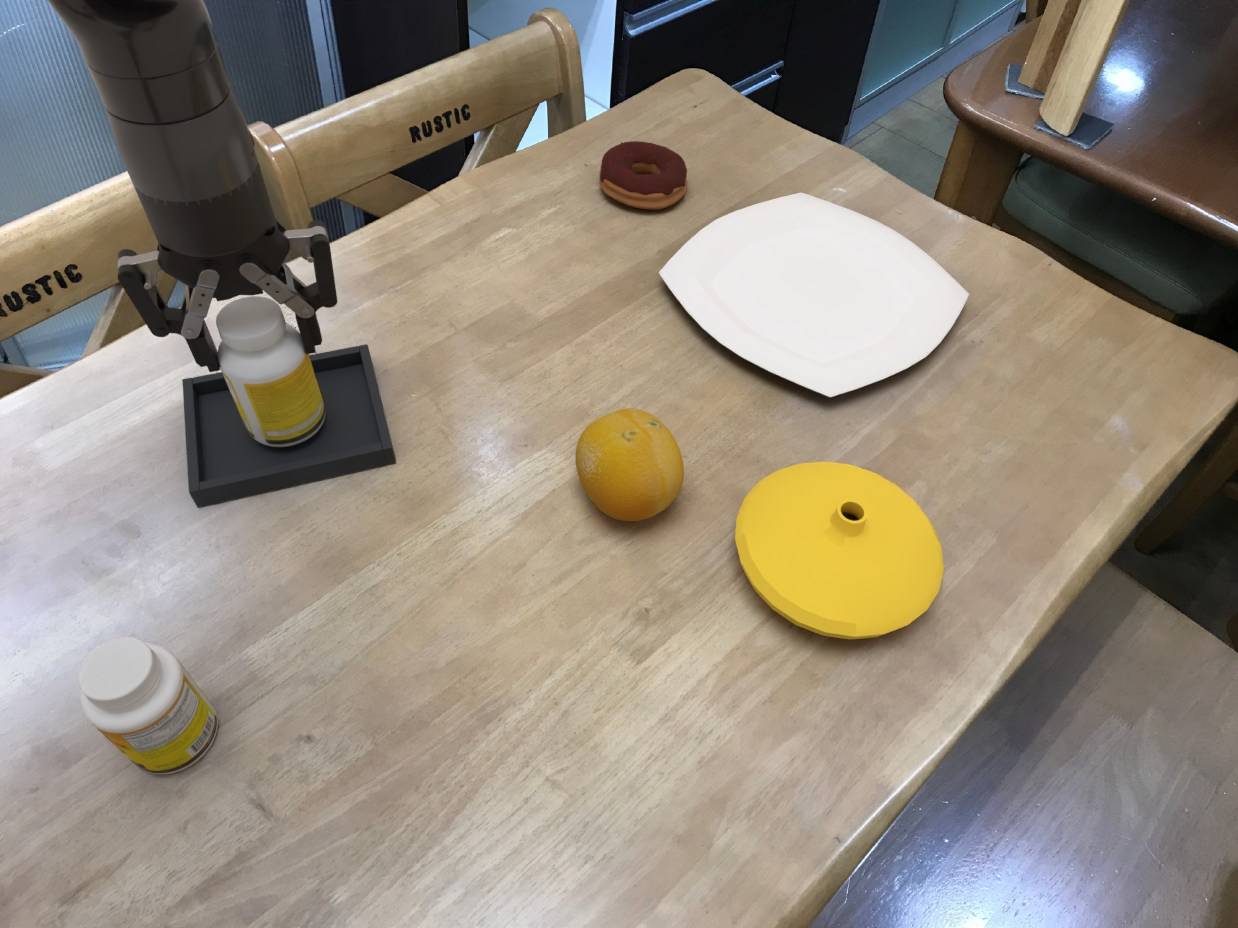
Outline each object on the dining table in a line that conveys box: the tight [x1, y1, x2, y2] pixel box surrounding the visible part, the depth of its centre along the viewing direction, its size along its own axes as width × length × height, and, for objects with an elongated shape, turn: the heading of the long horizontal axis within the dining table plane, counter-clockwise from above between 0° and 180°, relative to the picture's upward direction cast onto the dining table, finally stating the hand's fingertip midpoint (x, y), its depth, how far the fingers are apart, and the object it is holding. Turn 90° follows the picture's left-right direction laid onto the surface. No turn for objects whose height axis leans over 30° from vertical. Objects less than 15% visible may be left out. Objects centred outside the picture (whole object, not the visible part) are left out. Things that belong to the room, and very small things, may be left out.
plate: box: [658, 192, 970, 399], centre depth 88 cm, size 27×27×2 cm
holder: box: [181, 343, 397, 508], centre depth 74 cm, size 16×13×2 cm
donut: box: [598, 140, 688, 211], centre depth 98 cm, size 10×10×4 cm
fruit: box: [575, 408, 685, 522], centre depth 69 cm, size 9×8×8 cm
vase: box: [734, 461, 945, 640], centre depth 66 cm, size 16×16×7 cm
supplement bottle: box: [77, 636, 219, 775], centre depth 54 cm, size 6×6×10 cm
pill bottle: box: [215, 295, 325, 447], centre depth 70 cm, size 6×6×12 cm
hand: (263, 354), depth 68 cm, fingers closed on pill bottle, 6 cm apart
